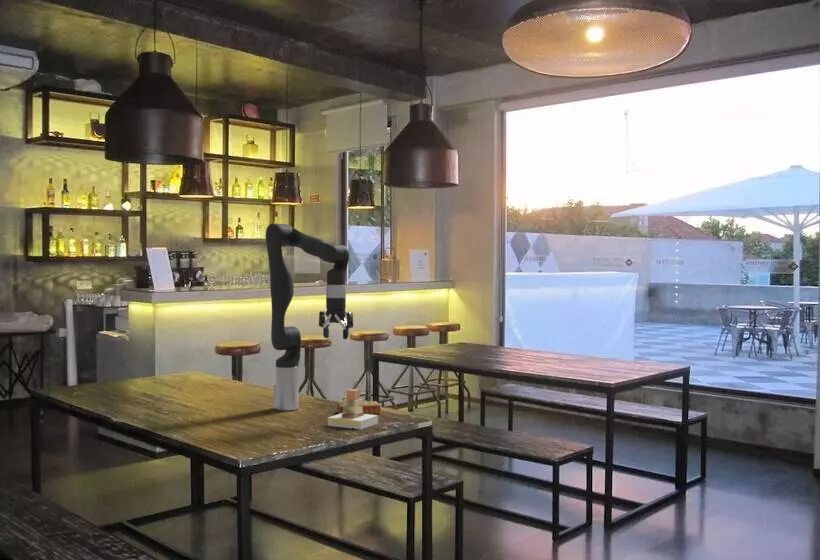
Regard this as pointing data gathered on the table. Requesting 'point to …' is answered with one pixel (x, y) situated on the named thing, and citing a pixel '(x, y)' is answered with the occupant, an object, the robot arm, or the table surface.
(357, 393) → the block
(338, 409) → the carton
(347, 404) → the wooden stepped block
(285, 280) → the robot arm
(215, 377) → the table surface
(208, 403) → the table surface
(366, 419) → the dock
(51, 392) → the table surface
